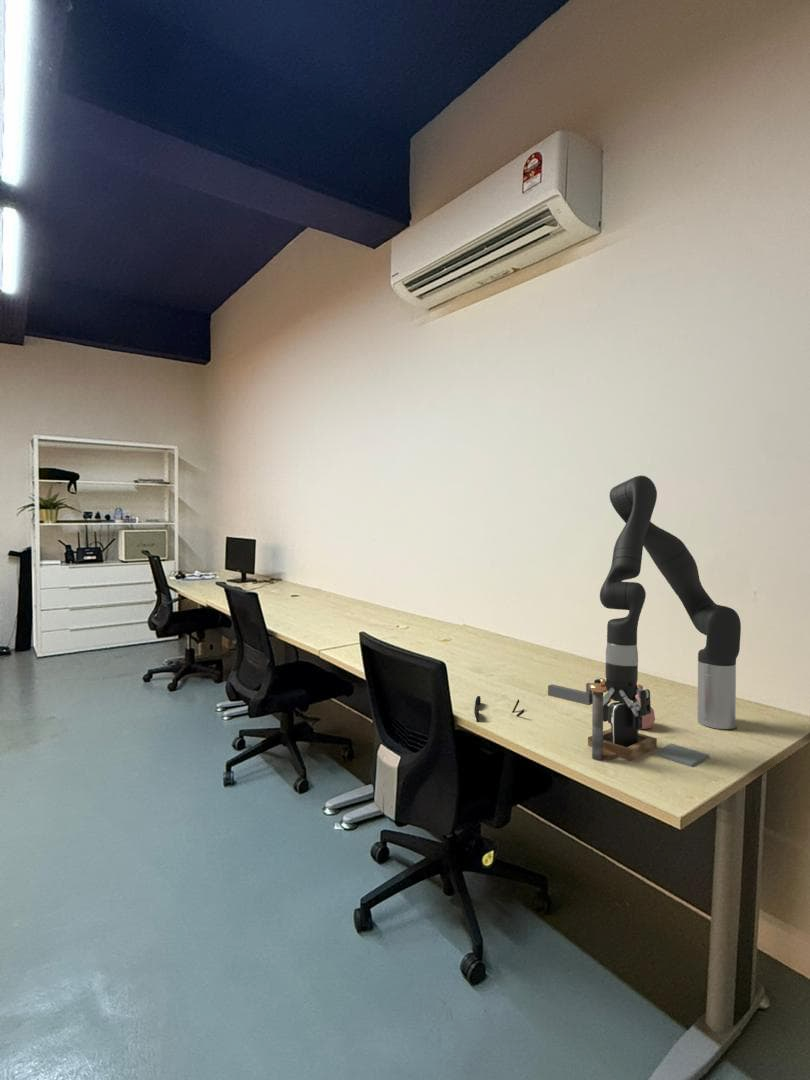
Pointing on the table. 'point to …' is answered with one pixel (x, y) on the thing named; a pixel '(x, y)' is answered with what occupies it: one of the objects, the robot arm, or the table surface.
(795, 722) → the table surface
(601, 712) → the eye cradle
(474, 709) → the thin black curved strips
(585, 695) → the bar
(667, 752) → the pad
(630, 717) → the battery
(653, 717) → the pink vase
